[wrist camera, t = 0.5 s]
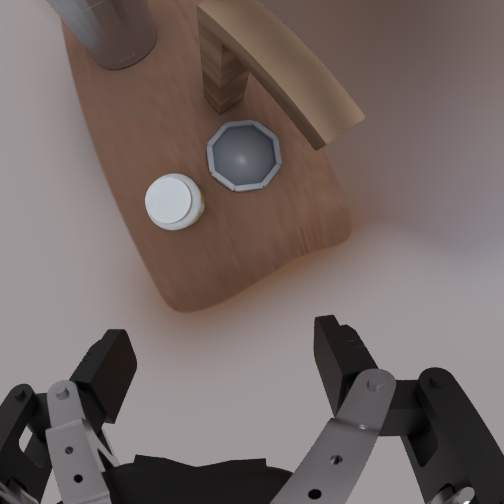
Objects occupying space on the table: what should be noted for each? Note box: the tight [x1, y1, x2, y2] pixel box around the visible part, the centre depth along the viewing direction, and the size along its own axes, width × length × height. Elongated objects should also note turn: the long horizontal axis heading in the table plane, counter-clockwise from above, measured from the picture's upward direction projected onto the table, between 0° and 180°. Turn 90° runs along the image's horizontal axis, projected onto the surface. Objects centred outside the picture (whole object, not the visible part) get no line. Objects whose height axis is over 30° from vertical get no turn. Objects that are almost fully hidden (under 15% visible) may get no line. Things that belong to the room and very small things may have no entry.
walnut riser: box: [197, 0, 366, 151], centre depth 23 cm, size 4×13×18 cm, turn 38°
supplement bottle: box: [145, 173, 204, 230], centre depth 27 cm, size 5×5×10 cm
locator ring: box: [207, 120, 282, 192], centre depth 31 cm, size 8×8×2 cm
